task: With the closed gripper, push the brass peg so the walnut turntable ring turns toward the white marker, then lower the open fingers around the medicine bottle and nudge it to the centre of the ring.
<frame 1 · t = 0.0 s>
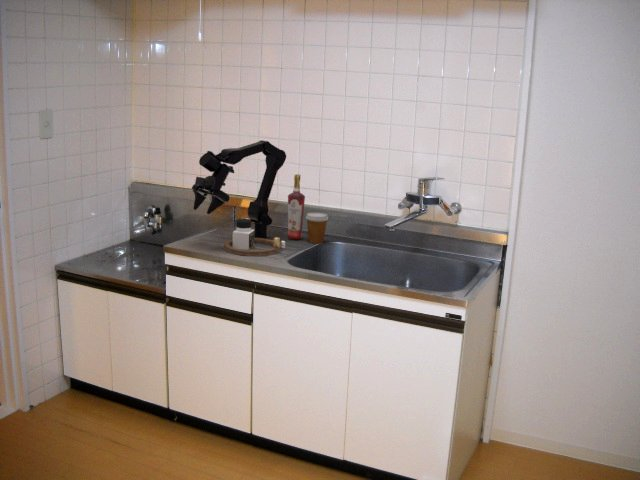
hand: (201, 211, 290), 15 cm above the worktop, tool tilted 35°, fingers open, 9 cm apart
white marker: (283, 247, 301), on the worktop
medicine bottle: (243, 247, 298), resting in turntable
liquor: (294, 239, 316), on the worktop
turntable: (252, 241, 296), point 3 cm above the worktop, hinge at 0.0°
disposable coffee cup: (315, 242, 312), on the worktop
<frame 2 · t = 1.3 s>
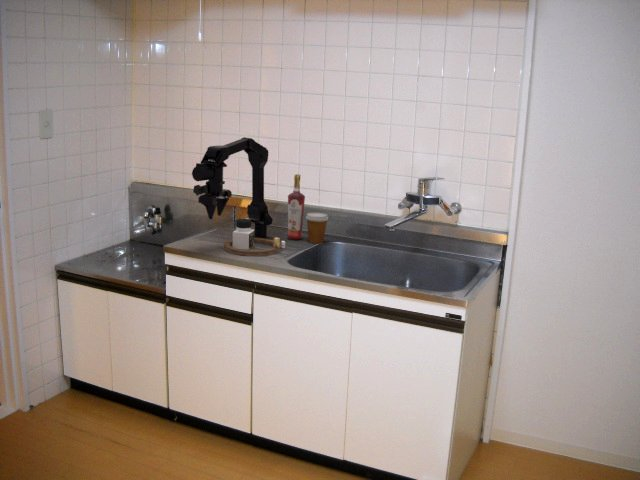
hand: (215, 217, 289), 13 cm above the worktop, tool pointing down, fingers open, 8 cm apart
nothing on the worktop moved.
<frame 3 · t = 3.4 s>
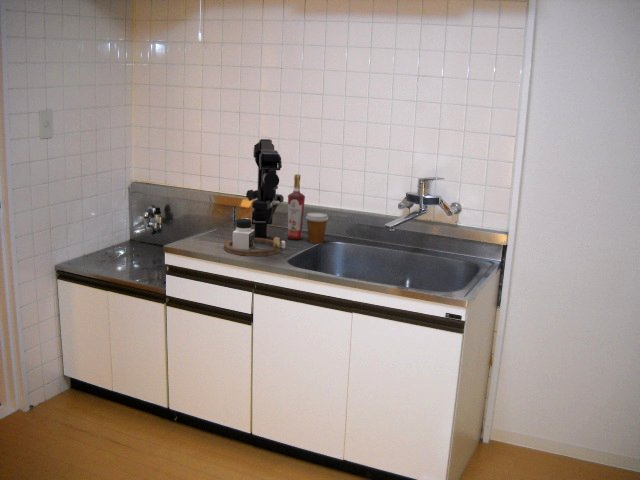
hand: (267, 222, 285), 13 cm above the worktop, tool pointing down, fingers closed
nothing on the worktop moved.
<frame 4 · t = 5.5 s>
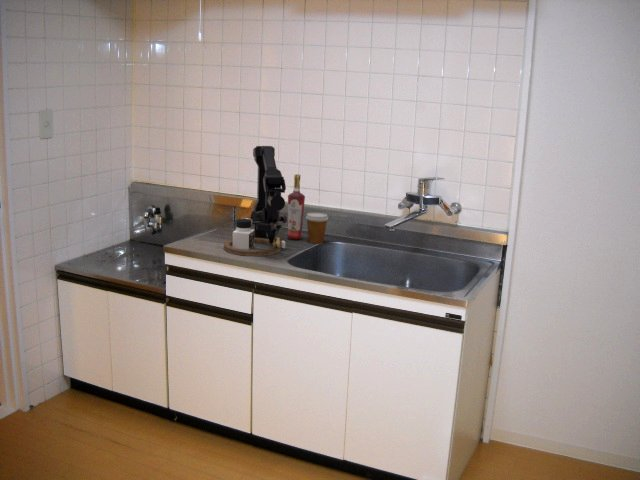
hand: (271, 243, 291), 4 cm above the worktop, tool pointing down, fingers closed
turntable: (252, 241, 296), point 3 cm above the worktop, hinge at 0.1°, touching gripper
everything else where it was.
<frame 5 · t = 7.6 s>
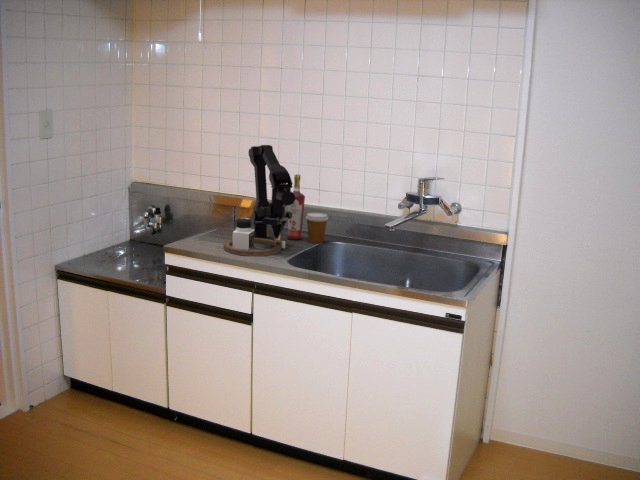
hand: (276, 238, 297), 4 cm above the worktop, tool pointing down, fingers closed
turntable: (252, 241, 296), point 3 cm above the worktop, hinge at 35.4°
everything else where it was.
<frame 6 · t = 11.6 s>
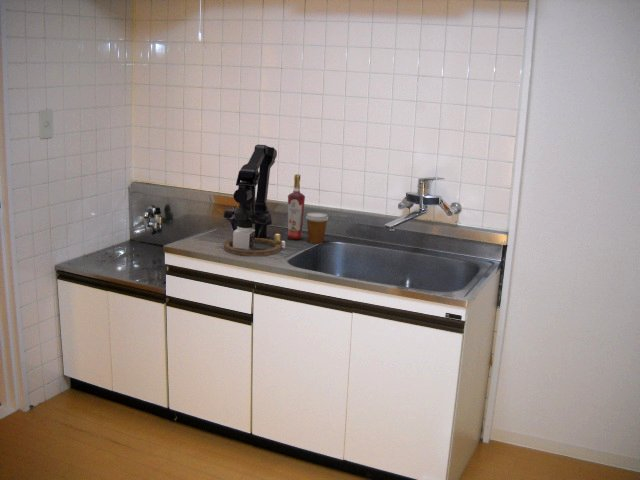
hand: (246, 236, 296), 5 cm above the worktop, tool pointing down, fingers open, 9 cm apart
medicine bottle: (243, 247, 298), resting in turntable, touching gripper
everything else where it was.
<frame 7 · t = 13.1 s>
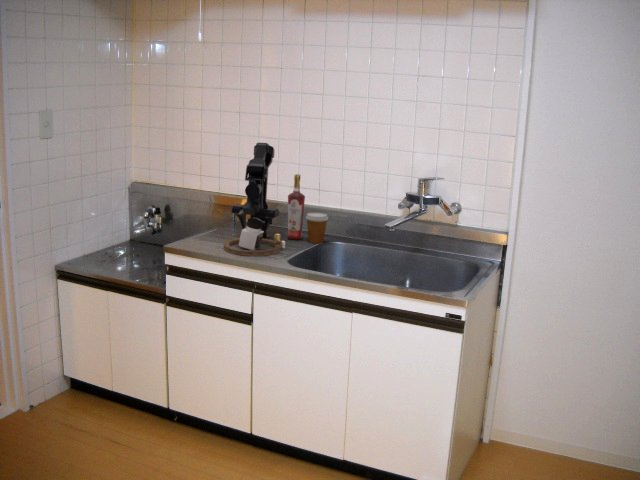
hand: (254, 231, 294), 7 cm above the worktop, tool pointing down, fingers open, 9 cm apart
medicine bottle: (249, 247, 297), resting in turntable, touching gripper
everything else where it was.
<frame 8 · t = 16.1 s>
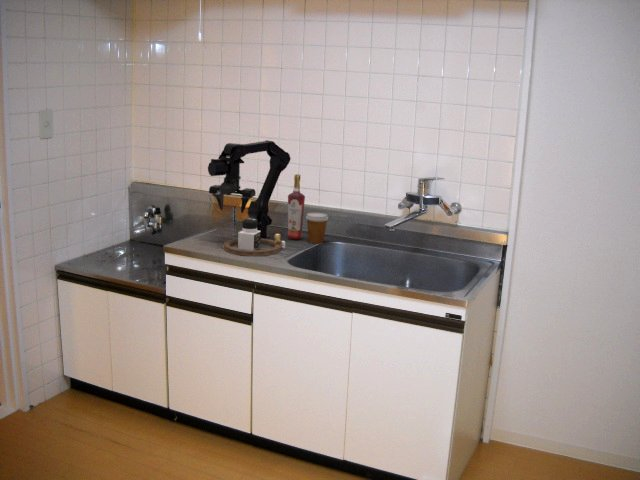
hand: (231, 211, 302), 13 cm above the worktop, tool pointing down, fingers open, 9 cm apart
medicine bottle: (249, 248, 297), resting in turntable
everything else where it was.
at the end: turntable at +36° (first picture: +0°); medicine bottle 1.3 cm from the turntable (horizontally); medicine bottle tilted 0° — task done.
